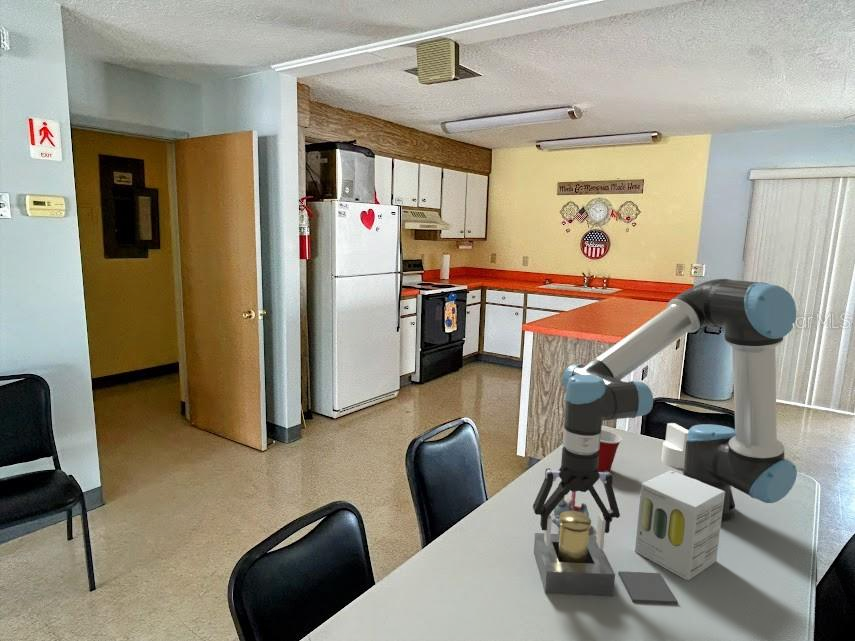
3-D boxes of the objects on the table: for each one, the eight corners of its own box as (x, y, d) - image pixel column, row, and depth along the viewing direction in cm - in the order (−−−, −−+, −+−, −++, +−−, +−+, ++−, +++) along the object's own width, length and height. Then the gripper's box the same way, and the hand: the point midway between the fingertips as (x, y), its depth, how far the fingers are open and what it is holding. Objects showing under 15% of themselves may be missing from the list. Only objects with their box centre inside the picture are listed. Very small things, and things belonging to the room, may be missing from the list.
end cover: (582, 564, 119) (586, 511, 117) (590, 583, 112) (594, 527, 110) (552, 563, 119) (556, 510, 117) (559, 582, 113) (563, 526, 110)
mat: (659, 575, 116) (659, 573, 116) (677, 604, 107) (677, 601, 107) (618, 573, 116) (618, 571, 116) (632, 602, 107) (633, 599, 107)
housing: (594, 555, 122) (595, 535, 122) (613, 596, 109) (615, 574, 108) (533, 552, 123) (535, 532, 122) (544, 593, 109) (546, 571, 108)
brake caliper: (601, 533, 127) (572, 492, 128) (562, 552, 131) (534, 512, 131) (598, 509, 138) (572, 472, 138) (562, 528, 141) (537, 490, 142)
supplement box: (632, 551, 124) (639, 482, 122) (663, 534, 132) (670, 468, 129) (687, 582, 114) (696, 507, 111) (717, 561, 121) (726, 490, 119)
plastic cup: (624, 478, 162) (627, 441, 160) (588, 477, 162) (592, 440, 160) (612, 463, 173) (615, 428, 171) (579, 462, 173) (582, 427, 171)
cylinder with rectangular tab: (655, 457, 178) (658, 424, 176) (678, 455, 180) (681, 422, 178) (673, 469, 169) (677, 434, 167) (697, 467, 171) (701, 432, 169)
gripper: (528, 453, 108) (522, 552, 111) (643, 458, 107) (633, 556, 111) (522, 439, 115) (517, 532, 119) (630, 443, 114) (621, 536, 118)
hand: (573, 544), depth 115 cm, fingers open, 11 cm apart
